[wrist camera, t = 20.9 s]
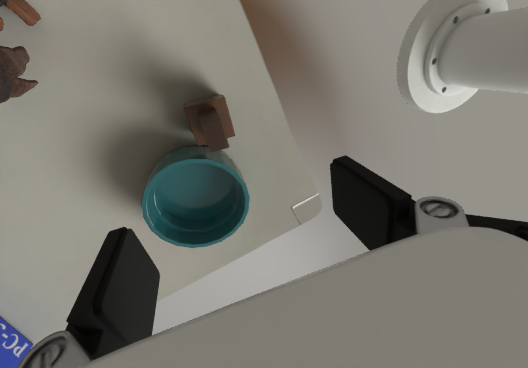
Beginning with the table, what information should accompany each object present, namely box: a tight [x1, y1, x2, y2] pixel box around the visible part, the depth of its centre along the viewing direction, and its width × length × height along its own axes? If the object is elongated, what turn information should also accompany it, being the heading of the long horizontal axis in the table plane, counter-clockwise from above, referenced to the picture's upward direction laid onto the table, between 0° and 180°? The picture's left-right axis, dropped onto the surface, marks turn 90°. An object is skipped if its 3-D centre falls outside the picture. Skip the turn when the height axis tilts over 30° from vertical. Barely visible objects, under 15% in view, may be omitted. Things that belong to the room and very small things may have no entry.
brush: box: [184, 94, 235, 153], centre depth 28 cm, size 5×5×10 cm
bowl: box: [141, 146, 249, 248], centre depth 34 cm, size 14×14×6 cm
